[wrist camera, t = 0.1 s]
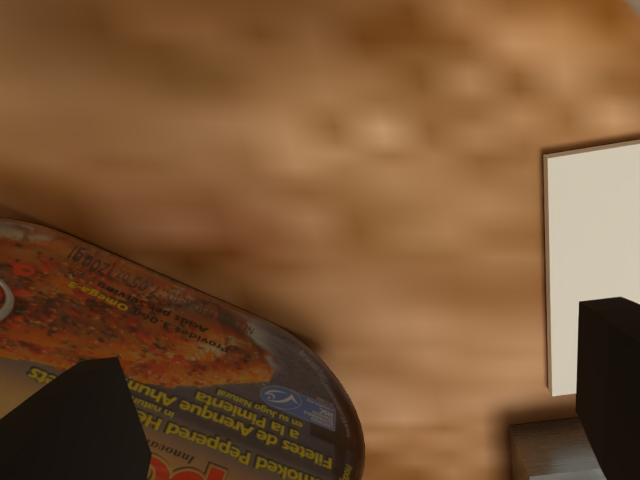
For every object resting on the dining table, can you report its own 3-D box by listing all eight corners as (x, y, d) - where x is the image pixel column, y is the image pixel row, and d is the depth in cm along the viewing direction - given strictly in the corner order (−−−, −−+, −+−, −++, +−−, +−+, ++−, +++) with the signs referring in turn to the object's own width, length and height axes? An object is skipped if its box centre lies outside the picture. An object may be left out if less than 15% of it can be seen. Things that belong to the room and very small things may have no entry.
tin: (363, 361, 21) (382, 576, 13) (324, 421, 22) (320, 651, 15) (-47, 180, 19) (-314, 317, 11) (-68, 258, 20) (-322, 432, 12)
